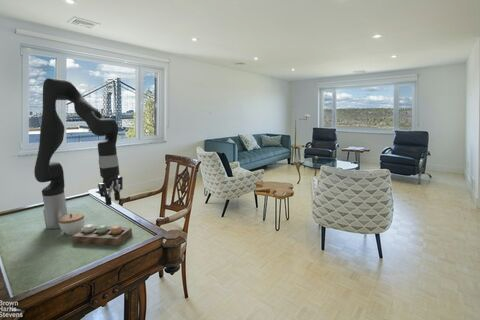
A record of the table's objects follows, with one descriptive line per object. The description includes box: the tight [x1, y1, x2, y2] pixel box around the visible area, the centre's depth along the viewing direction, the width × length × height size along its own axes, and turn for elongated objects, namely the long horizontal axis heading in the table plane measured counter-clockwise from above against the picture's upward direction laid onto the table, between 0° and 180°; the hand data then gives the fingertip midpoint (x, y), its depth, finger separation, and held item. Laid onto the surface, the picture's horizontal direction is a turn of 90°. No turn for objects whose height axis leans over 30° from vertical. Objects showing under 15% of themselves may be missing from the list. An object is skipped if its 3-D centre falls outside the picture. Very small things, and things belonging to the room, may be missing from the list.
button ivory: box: [82, 223, 95, 233], centre depth 125 cm, size 4×4×2 cm
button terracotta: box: [110, 225, 122, 235], centre depth 122 cm, size 4×4×2 cm
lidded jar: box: [58, 212, 85, 236], centre depth 132 cm, size 11×11×9 cm
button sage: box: [97, 224, 109, 234], centre depth 124 cm, size 4×4×2 cm
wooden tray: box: [71, 225, 133, 247], centre depth 124 cm, size 22×11×3 cm, turn 80°
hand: (113, 202), depth 120 cm, fingers open, 5 cm apart
